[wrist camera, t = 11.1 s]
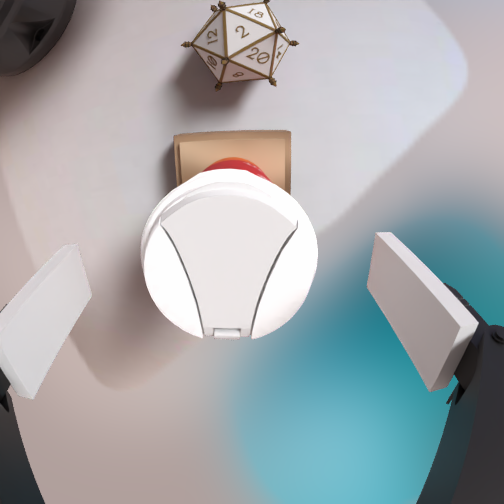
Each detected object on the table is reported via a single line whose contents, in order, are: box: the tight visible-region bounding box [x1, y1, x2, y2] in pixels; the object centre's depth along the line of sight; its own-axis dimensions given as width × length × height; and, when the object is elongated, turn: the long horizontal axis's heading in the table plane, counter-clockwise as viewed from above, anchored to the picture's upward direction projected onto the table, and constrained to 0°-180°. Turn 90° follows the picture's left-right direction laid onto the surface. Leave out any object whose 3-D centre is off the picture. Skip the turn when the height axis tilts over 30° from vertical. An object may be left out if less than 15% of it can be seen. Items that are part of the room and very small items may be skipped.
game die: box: [181, 0, 299, 91], centre depth 21 cm, size 9×8×10 cm
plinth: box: [174, 130, 291, 195], centre depth 28 cm, size 10×10×4 cm
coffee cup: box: [140, 157, 318, 340], centre depth 20 cm, size 8×8×15 cm
